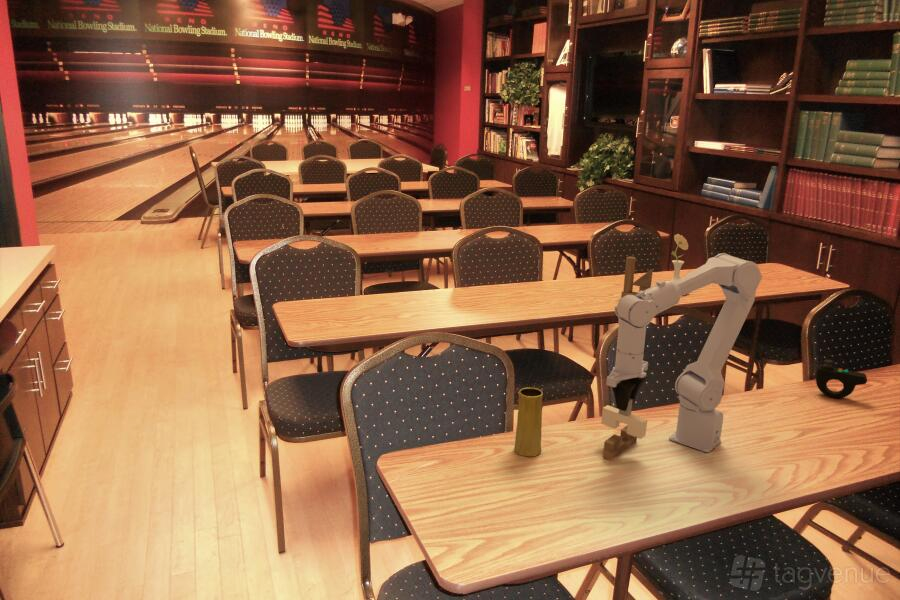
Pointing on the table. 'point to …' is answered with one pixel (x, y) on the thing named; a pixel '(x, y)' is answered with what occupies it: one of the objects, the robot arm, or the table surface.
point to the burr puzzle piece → (624, 420)
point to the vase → (529, 422)
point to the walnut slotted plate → (618, 444)
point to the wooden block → (629, 278)
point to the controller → (844, 376)
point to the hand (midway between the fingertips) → (624, 407)
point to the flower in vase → (677, 263)
